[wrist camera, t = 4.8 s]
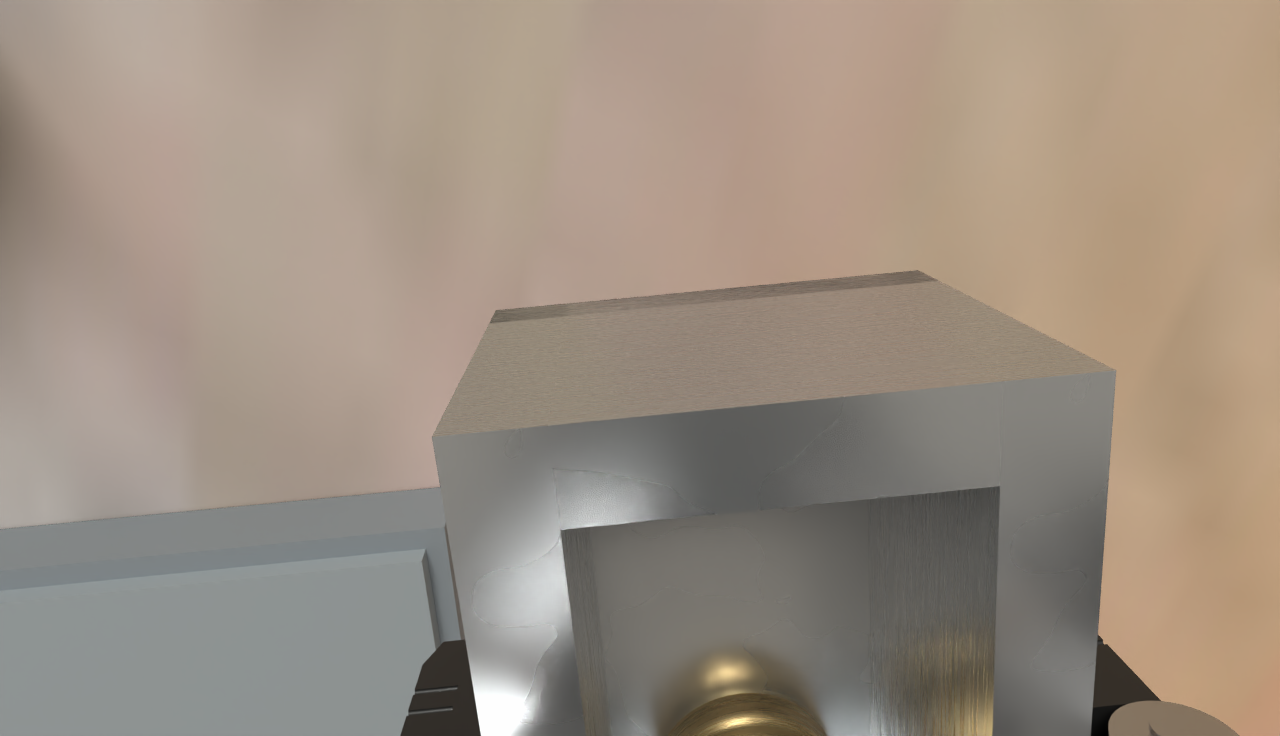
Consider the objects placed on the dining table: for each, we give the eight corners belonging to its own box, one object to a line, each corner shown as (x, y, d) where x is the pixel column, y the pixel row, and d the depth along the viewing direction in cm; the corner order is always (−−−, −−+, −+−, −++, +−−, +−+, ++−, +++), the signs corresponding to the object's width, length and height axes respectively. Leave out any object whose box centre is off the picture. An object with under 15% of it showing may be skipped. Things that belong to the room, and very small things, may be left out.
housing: (918, 270, 13) (1116, 370, 8) (916, 837, 15) (1060, 1167, 11) (496, 310, 12) (431, 436, 8) (572, 873, 15) (560, 1224, 10)
